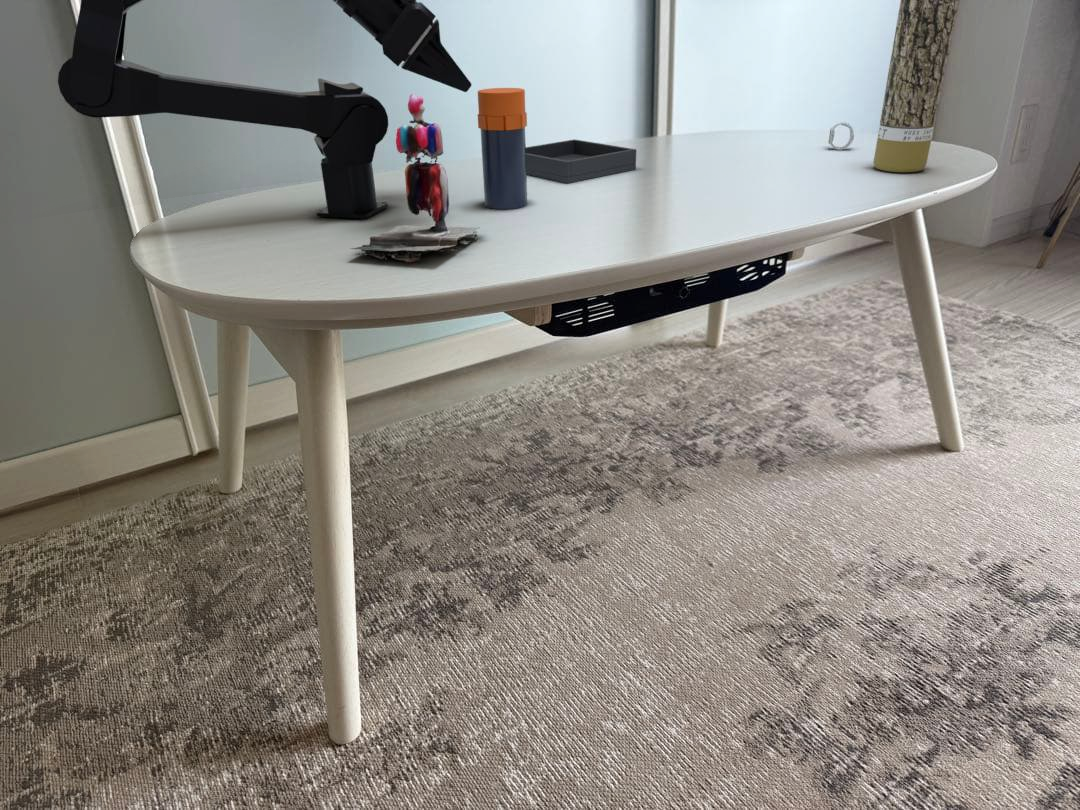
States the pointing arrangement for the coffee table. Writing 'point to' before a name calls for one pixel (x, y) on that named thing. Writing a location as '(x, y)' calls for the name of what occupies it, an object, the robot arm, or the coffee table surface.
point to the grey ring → (833, 135)
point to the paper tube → (914, 83)
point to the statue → (420, 195)
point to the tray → (578, 160)
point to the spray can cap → (501, 109)
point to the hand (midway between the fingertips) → (465, 84)
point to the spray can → (504, 168)
